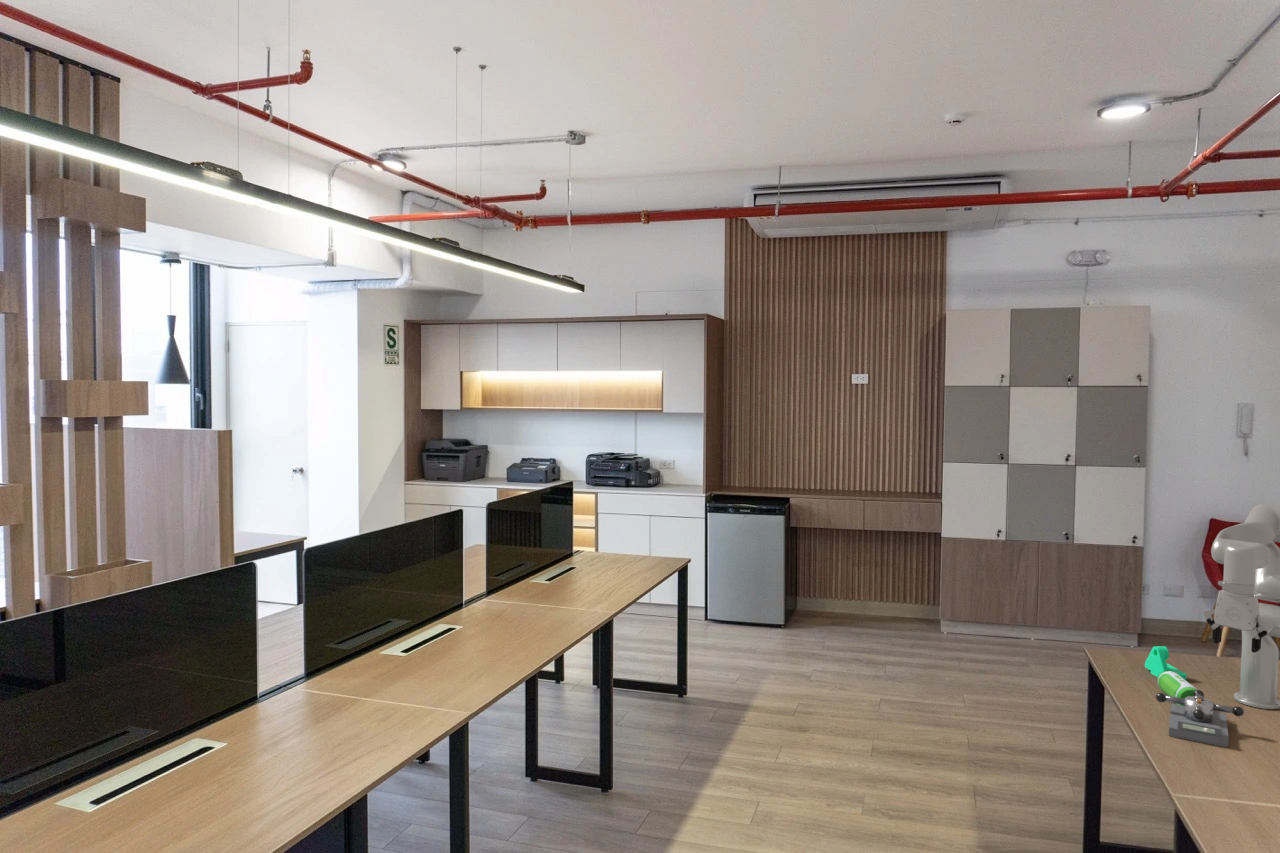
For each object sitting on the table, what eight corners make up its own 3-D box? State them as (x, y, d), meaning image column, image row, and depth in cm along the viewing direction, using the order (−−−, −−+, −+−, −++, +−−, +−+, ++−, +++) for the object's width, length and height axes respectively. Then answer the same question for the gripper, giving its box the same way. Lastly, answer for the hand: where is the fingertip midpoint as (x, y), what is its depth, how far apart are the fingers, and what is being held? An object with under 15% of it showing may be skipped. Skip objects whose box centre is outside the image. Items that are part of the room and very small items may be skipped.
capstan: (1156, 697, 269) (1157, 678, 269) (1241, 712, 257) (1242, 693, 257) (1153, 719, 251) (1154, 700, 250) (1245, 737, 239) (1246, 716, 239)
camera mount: (1187, 682, 292) (1188, 652, 291) (1164, 682, 292) (1166, 652, 291) (1166, 670, 304) (1167, 641, 303) (1144, 670, 304) (1145, 641, 303)
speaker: (1203, 712, 264) (1204, 688, 264) (1177, 710, 266) (1178, 686, 265) (1179, 692, 281) (1180, 670, 281) (1155, 691, 283) (1156, 668, 283)
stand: (1170, 711, 265) (1171, 696, 264) (1225, 721, 257) (1226, 706, 257) (1168, 736, 246) (1169, 720, 245) (1228, 748, 238) (1229, 731, 238)
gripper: (1199, 584, 253) (1197, 641, 254) (1268, 596, 238) (1265, 657, 239) (1211, 580, 257) (1209, 637, 258) (1279, 593, 242) (1276, 652, 243)
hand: (1235, 647), depth 248 cm, fingers open, 9 cm apart
